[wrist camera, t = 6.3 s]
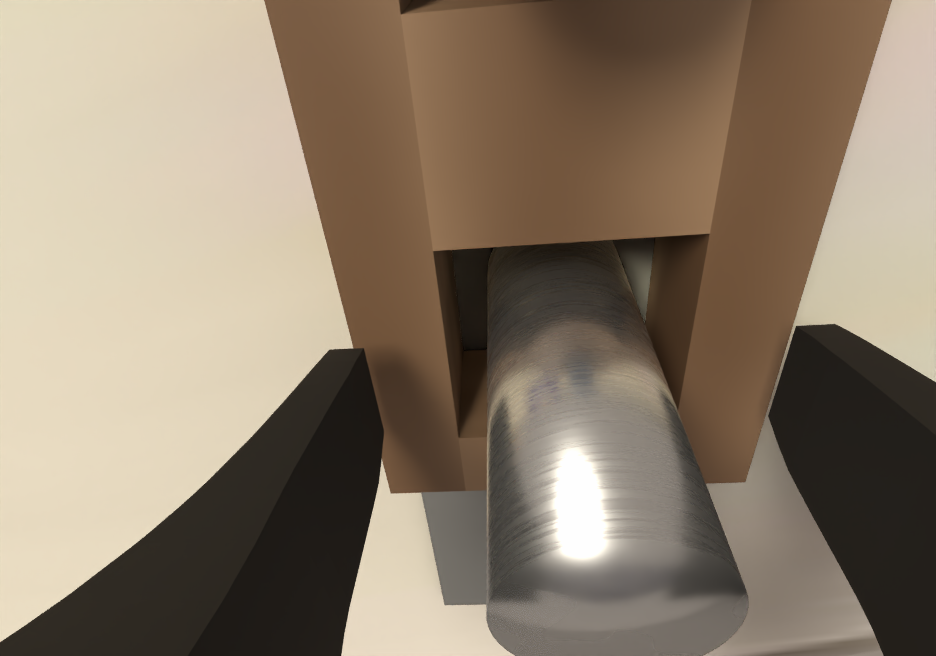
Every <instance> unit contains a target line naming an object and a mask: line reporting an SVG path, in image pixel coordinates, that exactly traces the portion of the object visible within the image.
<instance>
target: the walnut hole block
mask: <svg viewBox="0 0 936 656" xmlns="http://www.w3.org/2000/svg"><path fill="white" fill-rule="evenodd" d="M264 1H265V5H266V9H267V12H268V16H269V20H270V24H271V28H272V32H273V36H274V40H275V44H276V48H277V51H278V55H279V59H280V63H281V67H282V71H283V75H284V79H285V83H286V86H287V90H288V94H289V98H290V102H291V106H292V110H293V114H294V118H295V122H296V125H297V129H298V133H299V137H300V141H301V145H302V149H303V153H304V157H305V161H306V164H307V168H308V172H309V176H310V180H311V184H312V188H313V192H314V196H315V200H316V203H317V207H318V211H319V215H320V219H321V223H322V227H323V231H324V235H325V239H326V242H327V246H328V250H329V254H330V258H331V262H332V266H333V270H334V274H335V277H336V281H337V285H338V289H339V293H340V297H341V301H342V305H343V309H344V313H345V316H346V320H347V324H348V328H349V332H350V336H351V340H352V344H353V348H364V350H365V354H366V359H367V363H368V367H369V371H370V375H371V379H372V383H373V387H374V391H375V396H376V400H377V404H378V408H379V412H380V416H381V420H382V424H383V428H384V439H383V449H382V461H383V465H384V468H385V472H386V476H387V480H388V484H389V488H390V492H391V493H419V492H451V491H482V490H487V350H471V351H463V343H462V334H461V325H460V317H459V308H458V299H457V291H456V282H455V273H454V264H453V256H452V250H457V249H473V248H488V247H504V246H520V245H536V244H552V243H568V242H584V241H600V240H616V239H632V238H648V237H655V244H654V253H653V261H652V270H651V278H650V287H649V295H648V304H647V312H646V321H645V326H646V329H647V331H648V334H649V337H650V339H651V342H652V345H653V347H654V350H655V352H656V355H657V358H658V360H659V363H660V366H661V368H662V371H663V373H664V376H665V379H666V381H667V384H668V387H669V389H670V392H671V394H672V397H673V400H674V402H675V405H676V408H677V410H678V413H679V415H680V418H681V421H682V423H683V426H684V429H685V431H686V434H687V436H688V439H689V442H690V444H691V447H692V449H693V452H694V455H695V457H696V460H697V463H698V465H699V468H700V470H701V473H702V476H703V478H704V481H705V483H734V482H745V481H746V478H747V474H748V471H749V468H750V465H751V461H752V458H753V455H754V451H755V448H756V445H757V442H758V438H759V435H760V432H761V428H762V425H763V422H764V419H765V415H766V412H767V409H768V405H769V402H770V399H771V396H772V392H773V389H774V386H775V382H776V379H777V376H778V373H779V369H780V366H781V363H782V359H783V356H784V353H785V350H786V346H787V343H788V340H789V336H790V333H791V330H792V327H793V323H794V320H795V317H796V313H797V310H798V307H799V304H800V300H801V297H802V294H803V290H804V287H805V284H806V281H807V277H808V274H809V271H810V267H811V264H812V261H813V257H814V254H815V251H816V248H817V244H818V241H819V238H820V234H821V231H822V228H823V225H824V221H825V218H826V215H827V211H828V208H829V205H830V202H831V198H832V195H833V192H834V188H835V185H836V182H837V179H838V175H839V172H840V169H841V165H842V162H843V159H844V156H845V152H846V149H847V146H848V142H849V139H850V136H851V133H852V129H853V126H854V123H855V119H856V116H857V113H858V110H859V106H860V103H861V100H862V96H863V93H864V90H865V87H866V83H867V80H868V77H869V73H870V70H871V67H872V64H873V60H874V57H875V54H876V50H877V47H878V44H879V41H880V37H881V34H882V31H883V27H884V24H885V21H886V18H887V14H888V11H889V8H890V4H891V1H892V0H264Z"/></svg>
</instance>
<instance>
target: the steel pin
mask: <svg viewBox="0 0 936 656" xmlns="http://www.w3.org/2000/svg"><path fill="white" fill-rule="evenodd" d="M747 610H748V595H747V592H746V588H745V586H744V583H743V581H742V578H741V575H740V573H739V570H738V567H737V565H736V562H735V560H734V557H733V554H732V552H731V549H730V547H729V544H728V541H727V539H726V536H725V533H724V531H723V528H722V526H721V523H720V520H719V518H718V515H717V512H716V510H715V507H714V505H713V502H712V499H711V497H710V494H709V491H708V489H707V486H706V484H705V481H704V478H703V476H702V473H701V470H700V468H699V465H698V463H697V460H696V457H695V455H694V452H693V449H692V447H691V444H690V442H689V439H688V436H687V434H686V431H685V429H684V426H683V423H682V421H681V418H680V415H679V413H678V410H677V408H676V405H675V402H674V400H673V397H672V394H671V392H670V389H669V387H668V384H667V381H666V379H665V376H664V373H663V371H662V368H661V366H660V363H659V360H658V358H657V355H656V352H655V350H654V347H653V345H652V342H651V339H650V337H649V334H648V331H647V329H646V326H645V324H644V321H643V318H642V316H641V313H640V311H639V308H638V305H637V303H636V300H635V297H634V295H633V292H632V290H631V287H630V284H629V282H628V279H627V276H626V274H625V271H624V269H623V266H622V263H621V261H620V258H619V255H618V253H617V250H616V248H615V245H614V243H613V241H612V240H600V241H584V242H568V243H552V244H536V245H520V246H504V247H494V248H493V251H492V253H491V255H490V258H489V262H488V269H487V623H488V627H489V630H490V631H491V633H492V635H493V637H494V638H495V639H496V640H497V642H498V643H499V644H500V645H501V646H503V647H504V648H505V649H506V650H507V651H509V652H510V653H512V654H513V655H515V656H703V655H705V654H707V653H709V652H710V651H712V650H714V649H716V648H717V647H719V646H720V645H722V644H723V643H724V642H726V641H727V640H728V639H729V638H730V637H731V636H732V635H733V634H734V633H736V631H737V630H738V629H739V627H740V626H741V625H742V623H743V621H744V619H745V617H746V614H747Z"/></svg>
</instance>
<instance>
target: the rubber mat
mask: <svg viewBox="0 0 936 656" xmlns="http://www.w3.org/2000/svg"><path fill="white" fill-rule="evenodd" d="M421 493H422V498H423V503H424V508H425V512H426V517H427V522H428V527H429V532H430V537H431V541H432V546H433V551H434V556H435V561H436V565H437V570H438V575H439V580H440V585H441V590H442V594H443V599H444V604H445V605H479V604H487V490H482V491H451V492H421Z"/></svg>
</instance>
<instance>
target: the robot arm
mask: <svg viewBox="0 0 936 656" xmlns="http://www.w3.org/2000/svg"><path fill="white" fill-rule="evenodd" d="M768 417H769V420H770V422H771V425H772V428H773V431H774V434H775V437H776V440H777V442H778V445H779V448H780V450H781V453H782V455H783V458H784V461H785V463H786V466H787V468H788V471H789V473H790V474H791V476H792V478H793V480H794V482H795V484H796V486H797V488H798V490H799V492H800V493H801V495H802V497H803V499H804V501H805V503H806V505H807V507H808V508H809V510H810V512H811V514H812V516H813V518H814V520H815V521H816V523H817V525H818V527H819V529H820V531H821V532H822V534H823V536H824V538H825V540H826V541H827V543H828V545H829V547H830V549H831V551H832V552H833V554H834V556H835V558H836V560H837V562H838V563H839V565H840V567H841V569H842V571H843V573H844V574H845V576H846V578H847V580H848V582H849V584H850V585H851V587H852V589H853V591H854V593H855V595H856V596H857V598H858V600H859V602H860V604H861V606H862V609H863V611H864V613H865V615H866V617H867V619H868V621H869V623H870V625H871V627H872V629H873V631H874V634H875V636H876V638H877V641H878V643H879V645H880V648H881V650H882V653H883V655H884V656H936V382H934V381H933V380H931V379H929V378H928V377H926V376H924V375H923V374H921V373H919V372H918V371H916V370H914V369H913V368H911V367H909V366H908V365H906V364H904V363H903V362H901V361H899V360H898V359H896V358H894V357H893V356H891V355H889V354H888V353H886V352H884V351H883V350H881V349H879V348H877V347H876V346H874V345H872V344H871V343H869V342H867V341H866V340H864V339H862V338H860V337H859V336H857V335H855V334H853V333H851V332H849V331H848V330H846V329H844V328H842V327H840V326H838V325H836V324H827V325H807V326H796V328H795V331H794V334H793V338H792V341H791V344H790V347H789V351H788V354H787V357H786V360H785V364H784V367H783V370H782V373H781V377H780V380H779V383H778V386H777V390H776V393H775V396H774V399H773V403H772V406H771V409H770V412H769V415H768ZM383 439H384V428H383V424H382V420H381V416H380V412H379V408H378V404H377V400H376V396H375V391H374V387H373V383H372V379H371V375H370V371H369V367H368V363H367V359H366V354H365V350H364V348H354V349H334V350H329V351H328V352H327V353H326V354H325V355H324V357H323V358H322V359H321V360H320V361H319V362H318V363H317V364H316V365H315V366H314V368H313V369H312V370H311V371H310V372H309V373H308V374H307V376H306V377H305V378H304V379H303V380H302V381H301V383H300V384H299V385H298V386H297V387H296V388H295V389H294V391H293V392H292V393H291V394H290V395H289V396H288V397H287V399H286V400H285V401H284V402H283V403H282V404H281V405H280V406H279V408H278V409H277V410H276V411H275V412H274V413H273V414H272V415H271V416H270V417H269V419H268V420H267V421H266V422H265V423H264V424H263V425H262V426H261V427H260V428H259V429H258V431H257V432H256V433H255V434H254V435H253V436H252V437H251V438H250V439H249V440H248V441H247V442H246V443H245V444H244V445H243V446H242V447H241V448H240V449H239V450H238V451H237V452H236V453H235V454H234V455H233V456H232V457H231V458H230V459H229V460H228V461H227V462H226V463H225V464H224V465H223V466H222V467H221V468H220V469H219V470H218V471H217V472H216V473H215V474H214V475H213V476H212V477H211V478H210V479H209V480H208V481H207V482H206V483H205V484H204V485H203V486H202V487H201V488H200V489H199V490H198V491H197V492H196V493H194V494H193V495H192V496H191V497H190V498H189V499H188V500H187V501H186V502H184V503H183V504H182V505H181V506H180V507H179V508H178V509H176V510H175V511H174V512H173V513H172V514H171V515H169V516H168V517H167V518H166V519H165V520H164V521H162V522H161V523H160V524H159V525H158V526H157V527H155V528H154V529H153V530H152V531H151V532H150V533H148V534H147V535H146V536H145V537H143V538H142V539H141V540H140V541H139V542H137V543H136V544H135V545H134V546H132V547H131V548H130V549H128V550H127V551H126V552H124V553H123V554H122V555H120V556H119V557H118V558H117V559H115V560H114V561H113V562H111V563H110V564H109V565H107V566H106V567H105V568H103V569H102V570H101V571H100V572H98V573H97V574H96V575H94V576H93V577H92V578H90V579H89V580H88V581H86V582H85V583H84V584H83V585H81V586H80V587H79V588H77V589H76V590H75V591H73V592H72V593H71V594H69V595H68V596H67V597H65V598H64V599H62V600H61V601H60V602H58V603H57V604H55V605H54V606H52V607H51V608H50V609H48V610H47V611H45V612H44V613H42V614H41V615H40V616H38V617H37V618H35V619H34V620H32V621H31V622H30V623H28V624H27V625H25V626H24V627H22V628H21V629H19V630H18V631H16V632H15V633H13V634H12V635H10V636H9V637H7V638H6V639H4V640H3V641H1V642H0V656H341V653H342V646H343V639H344V632H345V627H346V622H347V617H348V612H349V607H350V603H351V598H352V594H353V590H354V586H355V582H356V577H357V573H358V569H359V565H360V561H361V557H362V552H363V548H364V544H365V540H366V536H367V532H368V527H369V523H370V519H371V515H372V510H373V506H374V502H375V497H376V493H377V488H378V484H379V476H380V467H381V459H382V449H383Z"/></svg>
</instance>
